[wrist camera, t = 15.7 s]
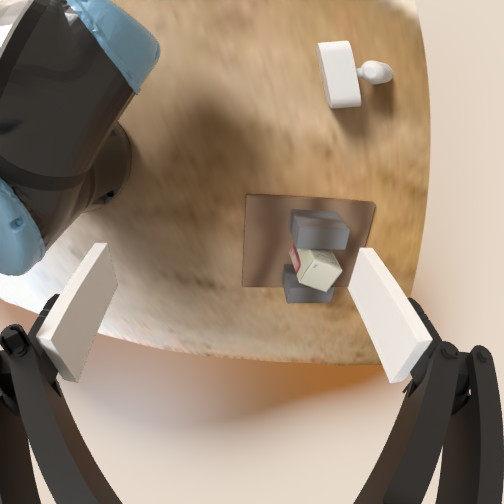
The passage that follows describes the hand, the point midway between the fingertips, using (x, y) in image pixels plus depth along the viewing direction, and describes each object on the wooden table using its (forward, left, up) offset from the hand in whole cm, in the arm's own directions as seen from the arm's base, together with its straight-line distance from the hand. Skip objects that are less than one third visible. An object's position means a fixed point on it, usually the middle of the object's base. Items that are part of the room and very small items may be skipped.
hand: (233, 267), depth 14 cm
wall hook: (+15, +13, -27) cm, 34 cm away
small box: (+12, -14, -26) cm, 32 cm away
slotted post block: (+12, -14, -27) cm, 32 cm away
